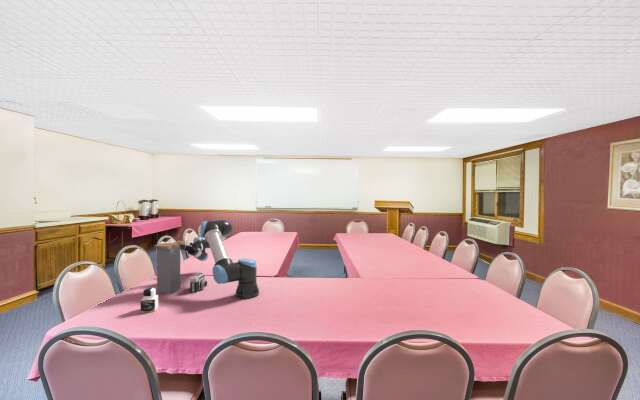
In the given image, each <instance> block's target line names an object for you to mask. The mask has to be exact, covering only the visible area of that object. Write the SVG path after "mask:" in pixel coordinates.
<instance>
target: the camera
mask: <svg viewBox="0 0 640 400" xmlns="http://www.w3.org/2000/svg"><path fill="white" fill-rule="evenodd" d="M207 286H208V280H206V279H205V272H198V273H197V274H194V275H193V276H192V277H190V278H189V293H190V294H196V293H198V292H199V291H201V289H204V288H206V287H207Z"/></svg>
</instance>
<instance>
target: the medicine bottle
mask: <svg viewBox="0 0 640 400" xmlns="http://www.w3.org/2000/svg"><path fill="white" fill-rule="evenodd" d="M156 292H157V288H155V287H148V288H145V289H144V290H143V297H142V299H140V313H143V314H144V313H151V312H152V313H153V312H156V311H157V309H158V307H159V295H158V294H157V293H156Z"/></svg>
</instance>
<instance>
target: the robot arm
mask: <svg viewBox="0 0 640 400" xmlns="http://www.w3.org/2000/svg"><path fill="white" fill-rule="evenodd" d="M199 227H200V228H199V236H197V237H195V238H193V242H192V241H191V240H189V239H187V240H186V241H185V242H186V243H185V244H181V245H180V251H186V252H187V254H188V255H190V256H192V257H193V258H194V259H197V260H198V261H201V262H205V261H207V260H208V258H209V254H208V252H206V249H210V251H211V252H210V253H212V258H213V261H214V264H213V265H214V266H212V277H213V280H214V281H215V283H217V284H219V285H220V284H222V285H223V284H227V283H234V282H237V283H238V284H237V285H236V286H237V287H236V290H235V297H236V298H238V299H243V300H244V299H252V298H256V297H258V296H259V295H260V289H259V286H258V283H257V274H258V273H257V272H258V271H257V270H258V269H257V268H258V266H257V262H256V260H254V259H251V258H239V259H238V261H237V262H233V260H232V258H229V256H228V253H227V250H226V248H225V246H224V243H223V241H224V240H225V239H226V238H228V237H230V236H231V235H232V233H233V231H234V226H233V225H232V223H231V222H229V221H228V220H224V219H220V220H219V219H218V220H205V221H201V222H200V226H199ZM173 242H176V241H175V240H173V239H169V241H168V243H173Z"/></svg>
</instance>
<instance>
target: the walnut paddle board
mask: <svg viewBox="0 0 640 400" xmlns="http://www.w3.org/2000/svg"><path fill="white" fill-rule="evenodd" d="M180 245H185V240H177V241H175V242H173V243H169V242H163V243H159V244H156V245H153V249H156V250H157V249H171V248H175V247H179V246H180Z"/></svg>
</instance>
